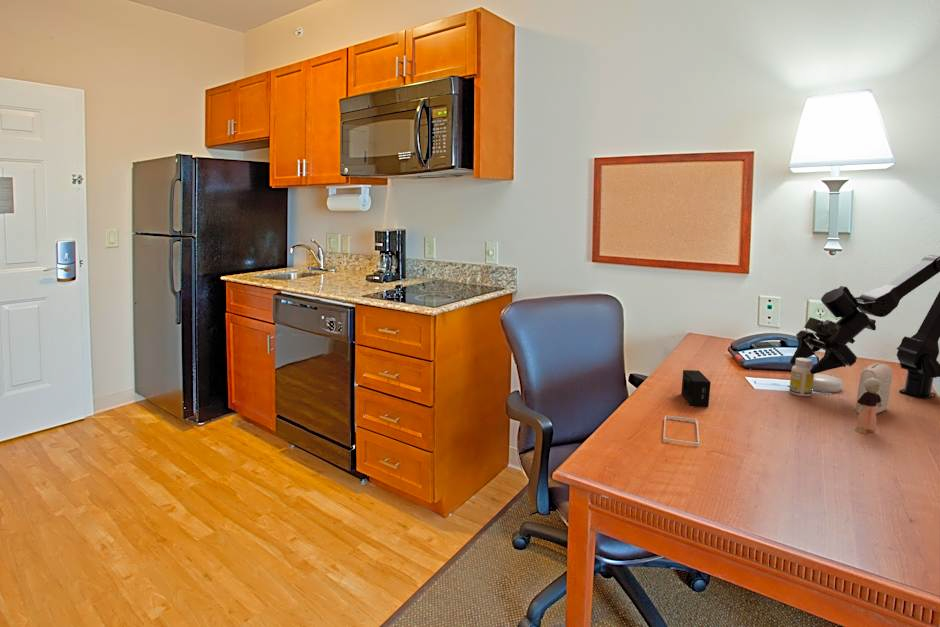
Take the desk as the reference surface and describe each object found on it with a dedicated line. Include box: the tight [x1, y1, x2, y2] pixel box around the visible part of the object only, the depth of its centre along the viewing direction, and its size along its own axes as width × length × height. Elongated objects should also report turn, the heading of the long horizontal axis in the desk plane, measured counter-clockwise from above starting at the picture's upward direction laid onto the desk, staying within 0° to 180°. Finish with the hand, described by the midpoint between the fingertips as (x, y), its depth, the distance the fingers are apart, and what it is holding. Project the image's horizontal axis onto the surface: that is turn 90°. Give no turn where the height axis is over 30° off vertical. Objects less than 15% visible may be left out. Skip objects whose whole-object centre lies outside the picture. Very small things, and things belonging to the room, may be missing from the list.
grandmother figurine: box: [853, 378, 882, 435], centre depth 129 cm, size 8×4×13 cm, turn 117°
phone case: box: [662, 415, 700, 447], centre depth 129 cm, size 7×1×15 cm
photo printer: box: [855, 362, 894, 414], centre depth 142 cm, size 10×4×12 cm, turn 123°
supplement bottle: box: [789, 358, 814, 397], centre depth 155 cm, size 5×5×10 cm
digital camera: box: [681, 369, 712, 408], centre depth 149 cm, size 10×5×7 cm, turn 173°
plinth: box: [812, 373, 843, 393], centre depth 162 cm, size 10×10×2 cm
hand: (800, 368), depth 155 cm, fingers open, 9 cm apart
